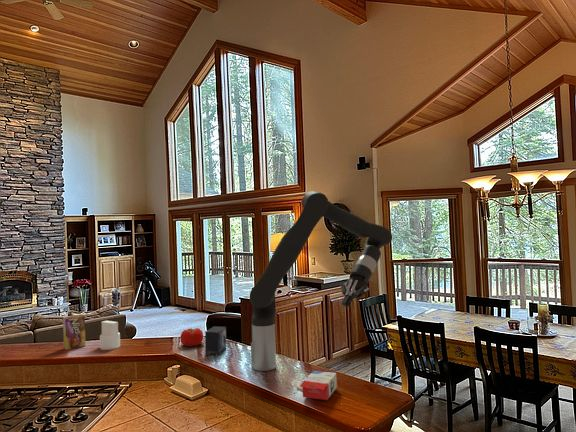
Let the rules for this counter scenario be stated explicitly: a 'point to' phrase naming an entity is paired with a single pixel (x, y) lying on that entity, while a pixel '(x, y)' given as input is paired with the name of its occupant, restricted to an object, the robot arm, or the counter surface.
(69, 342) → the candy box
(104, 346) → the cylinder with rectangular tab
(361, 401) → the counter surface
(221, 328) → the small box
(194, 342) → the tomato
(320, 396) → the ink box
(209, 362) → the counter surface
